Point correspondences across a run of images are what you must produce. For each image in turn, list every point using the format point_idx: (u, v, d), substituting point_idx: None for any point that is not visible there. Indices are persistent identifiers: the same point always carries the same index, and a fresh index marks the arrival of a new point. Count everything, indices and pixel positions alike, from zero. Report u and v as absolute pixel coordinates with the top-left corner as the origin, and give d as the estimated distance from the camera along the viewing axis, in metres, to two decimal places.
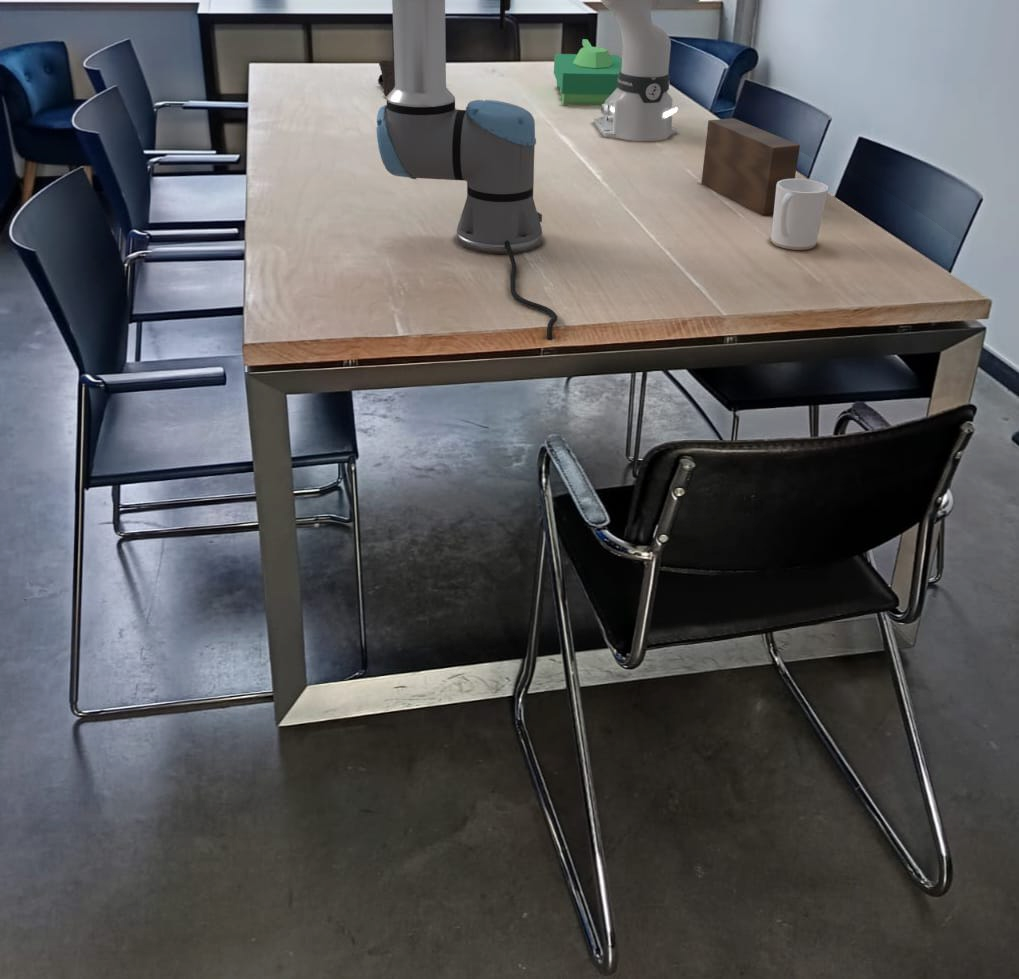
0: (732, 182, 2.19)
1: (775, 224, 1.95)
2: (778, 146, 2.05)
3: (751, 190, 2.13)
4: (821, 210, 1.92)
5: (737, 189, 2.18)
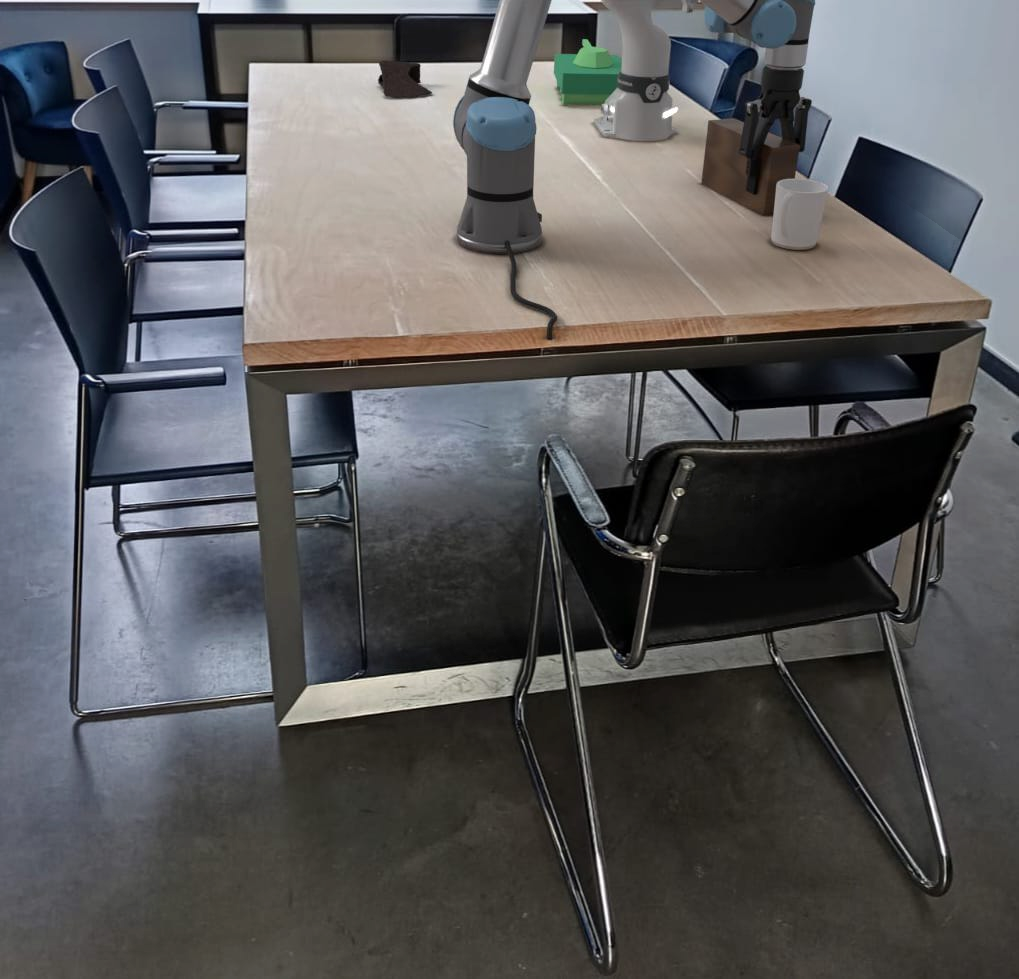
0: (732, 182, 2.19)
1: (775, 224, 1.95)
2: (778, 146, 2.05)
3: None
4: (821, 210, 1.92)
5: (737, 189, 2.18)
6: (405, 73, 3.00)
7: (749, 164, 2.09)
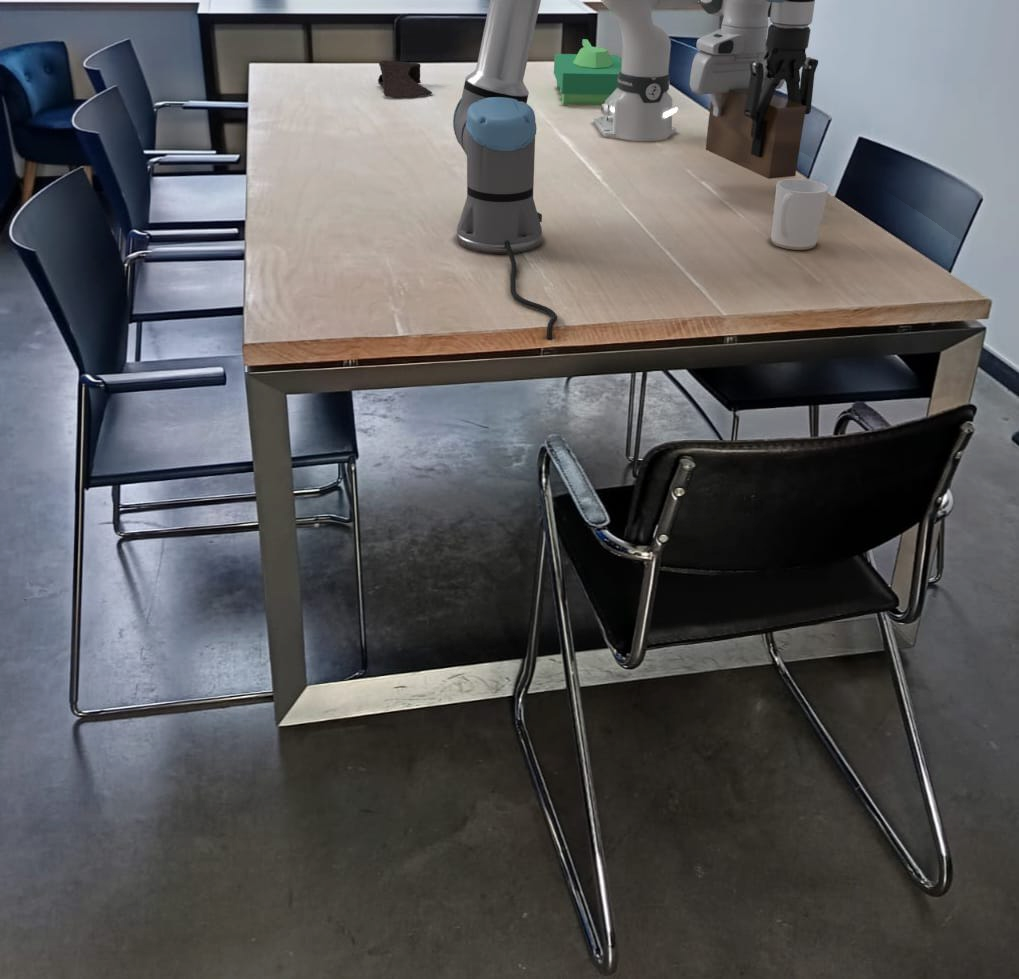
0: (736, 146, 2.15)
1: (775, 224, 1.95)
2: (784, 107, 2.02)
3: None
4: (821, 210, 1.92)
5: (741, 153, 2.14)
6: (405, 73, 3.00)
7: (754, 126, 2.05)
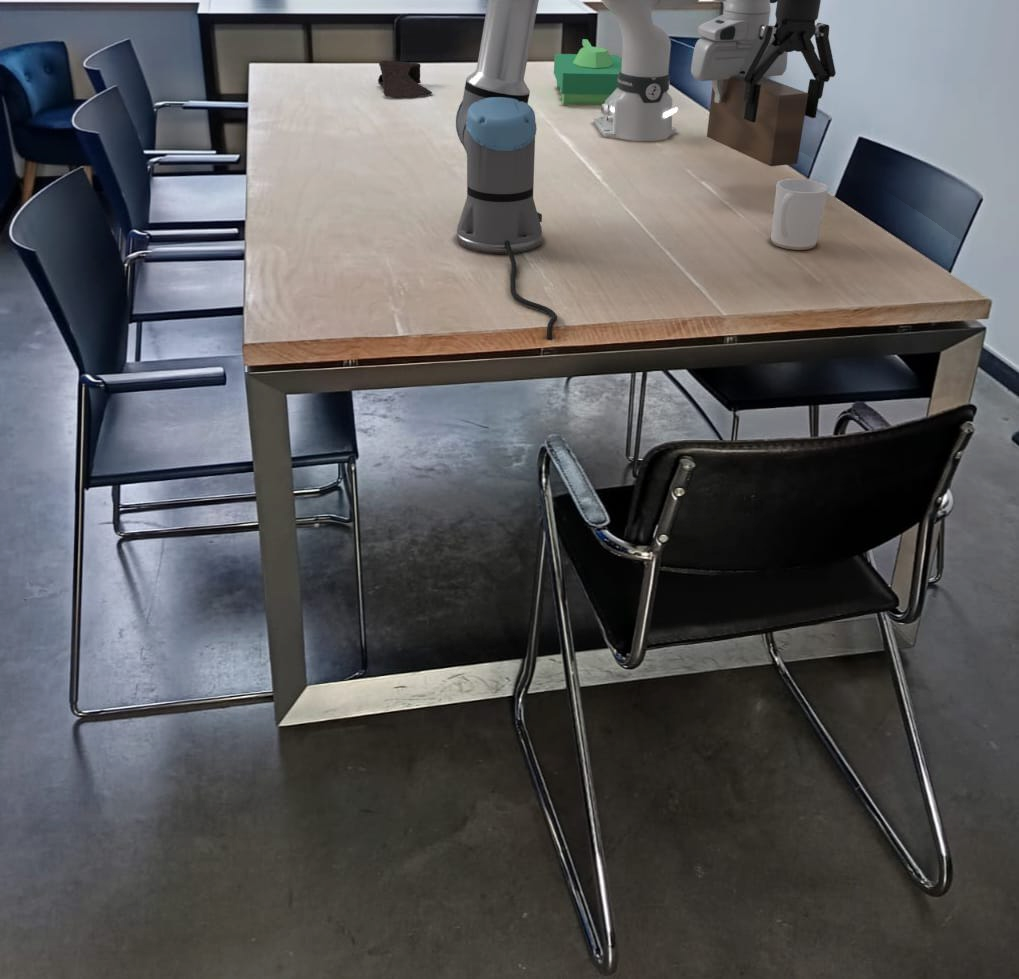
0: (738, 133, 2.14)
1: (775, 224, 1.95)
2: (786, 94, 2.01)
3: (758, 140, 2.09)
4: (821, 210, 1.92)
5: (743, 140, 2.13)
6: (405, 73, 3.00)
7: (748, 89, 1.99)
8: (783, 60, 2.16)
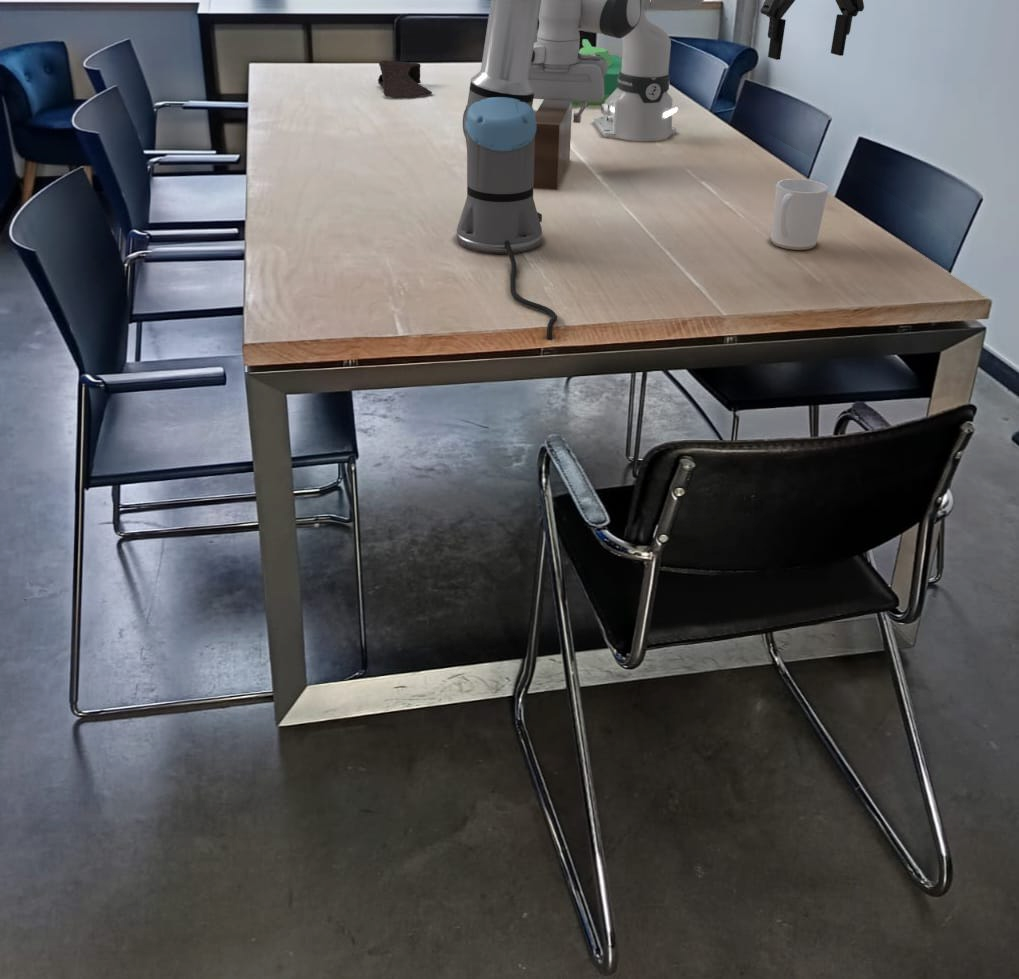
0: None
1: (775, 224, 1.95)
2: (537, 122, 2.18)
3: None
4: (821, 210, 1.92)
5: None
6: (405, 73, 3.00)
7: (772, 24, 1.90)
8: (597, 88, 2.27)
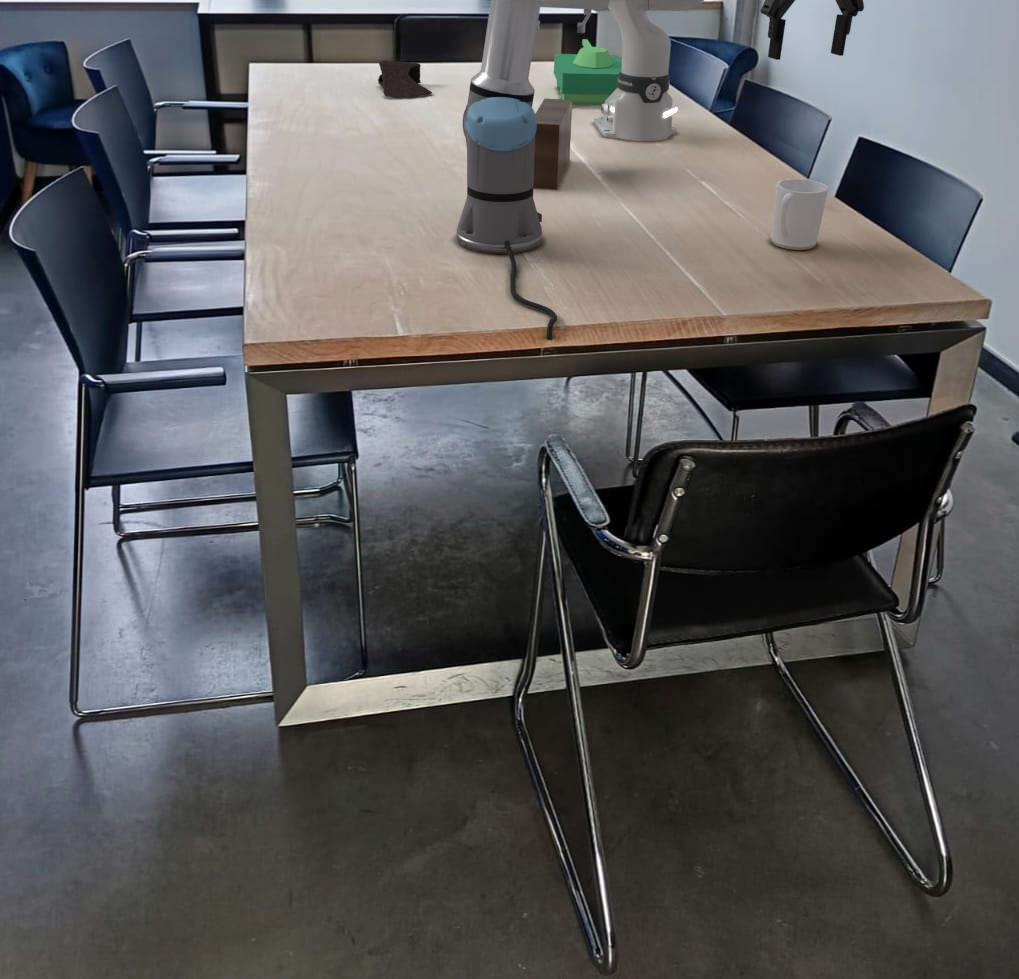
0: None
1: (775, 224, 1.95)
2: (537, 122, 2.18)
3: None
4: (821, 210, 1.92)
5: None
6: (405, 73, 3.00)
7: (772, 24, 1.90)
8: None
